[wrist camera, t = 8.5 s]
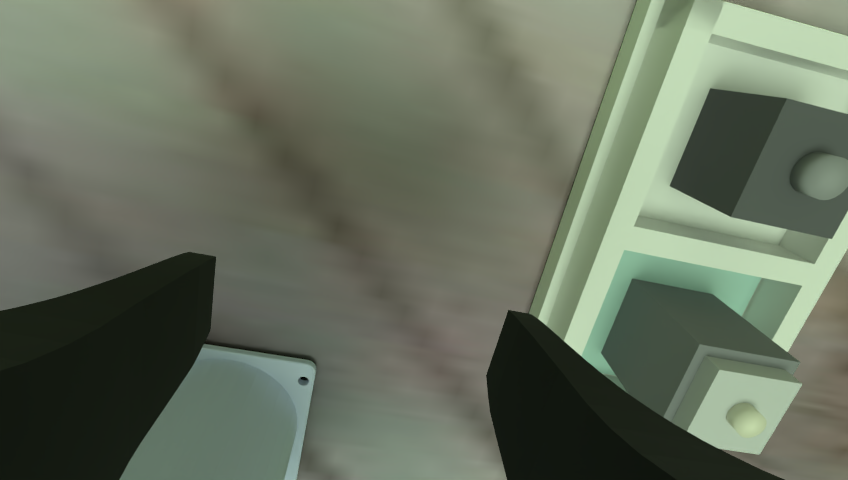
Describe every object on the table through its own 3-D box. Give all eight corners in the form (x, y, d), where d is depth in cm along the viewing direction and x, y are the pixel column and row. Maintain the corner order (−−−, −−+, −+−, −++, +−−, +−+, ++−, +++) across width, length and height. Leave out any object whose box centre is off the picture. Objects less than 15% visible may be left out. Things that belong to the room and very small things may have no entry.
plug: (754, 204, 21) (851, 247, 16) (669, 186, 20) (746, 224, 16) (800, 111, 20) (920, 130, 15) (710, 88, 19) (807, 101, 15)
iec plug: (677, 365, 24) (775, 477, 18) (600, 352, 23) (674, 463, 17) (712, 294, 22) (833, 387, 16) (632, 278, 22) (725, 369, 16)
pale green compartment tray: (706, 395, 26) (746, 439, 23) (511, 363, 25) (527, 406, 22) (880, 66, 20) (964, 69, 17) (637, -2, 19) (683, -11, 16)
